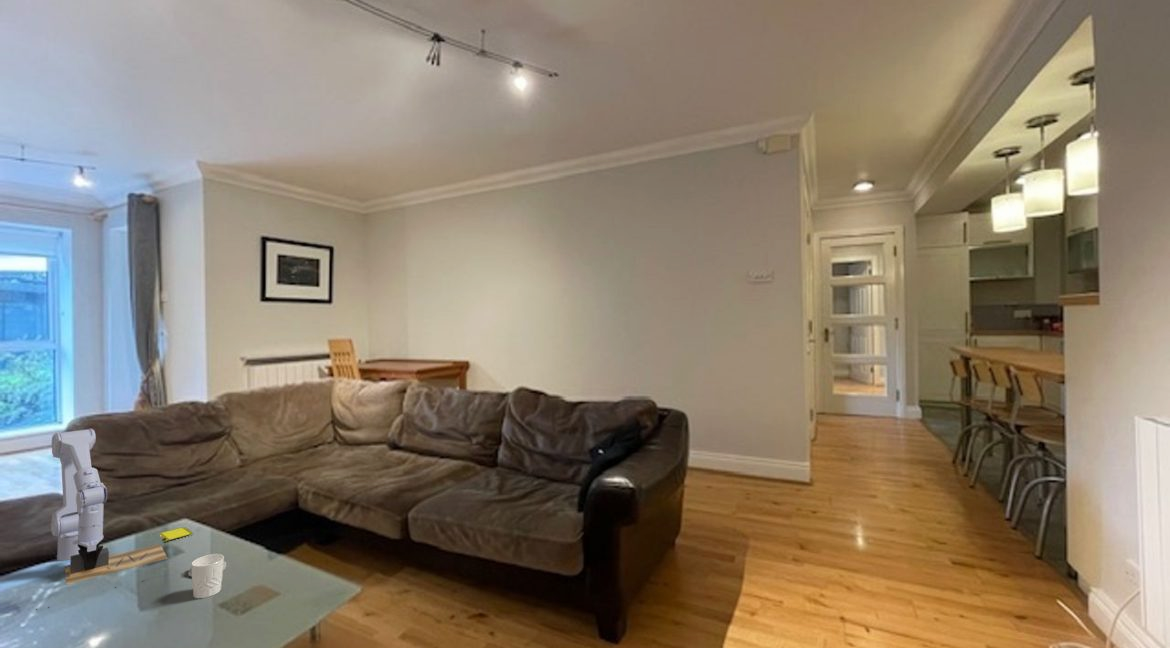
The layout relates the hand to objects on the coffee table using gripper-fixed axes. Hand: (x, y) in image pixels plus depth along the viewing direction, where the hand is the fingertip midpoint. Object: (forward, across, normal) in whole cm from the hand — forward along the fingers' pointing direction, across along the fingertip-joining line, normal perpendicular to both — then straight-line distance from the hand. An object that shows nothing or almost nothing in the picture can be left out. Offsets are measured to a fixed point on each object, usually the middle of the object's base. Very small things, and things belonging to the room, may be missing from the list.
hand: (89, 566), depth 160 cm
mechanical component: (+3, +25, +27) cm, 37 cm away
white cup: (+2, +41, +24) cm, 47 cm away
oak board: (+2, 0, +7) cm, 7 cm away
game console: (+3, -17, +20) cm, 26 cm away
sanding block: (+1, 0, 0) cm, 1 cm away
